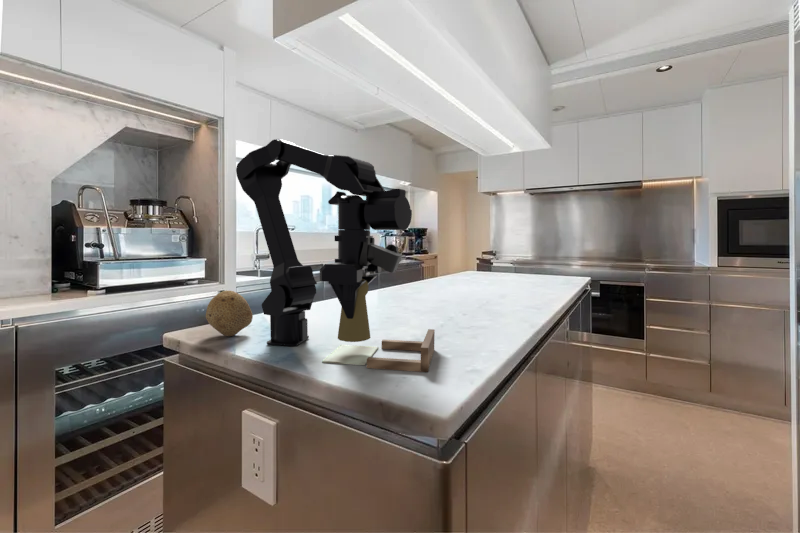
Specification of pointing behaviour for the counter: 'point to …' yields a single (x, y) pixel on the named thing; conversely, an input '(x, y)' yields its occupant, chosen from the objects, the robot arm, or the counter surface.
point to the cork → (356, 320)
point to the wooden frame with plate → (364, 355)
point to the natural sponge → (228, 313)
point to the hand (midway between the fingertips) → (354, 315)
